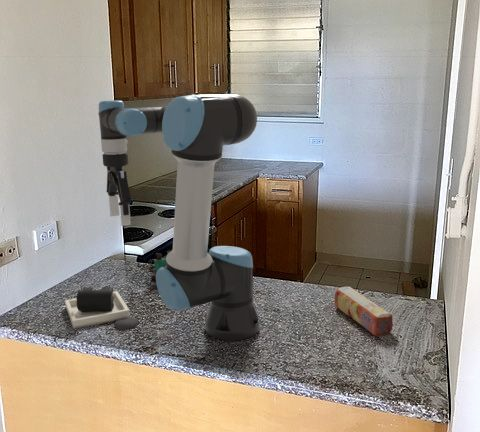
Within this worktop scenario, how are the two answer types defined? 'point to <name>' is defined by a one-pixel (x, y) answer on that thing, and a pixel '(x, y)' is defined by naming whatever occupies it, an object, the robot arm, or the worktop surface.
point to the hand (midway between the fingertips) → (120, 220)
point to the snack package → (363, 311)
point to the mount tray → (96, 313)
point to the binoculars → (158, 264)
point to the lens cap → (126, 323)
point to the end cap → (95, 299)
